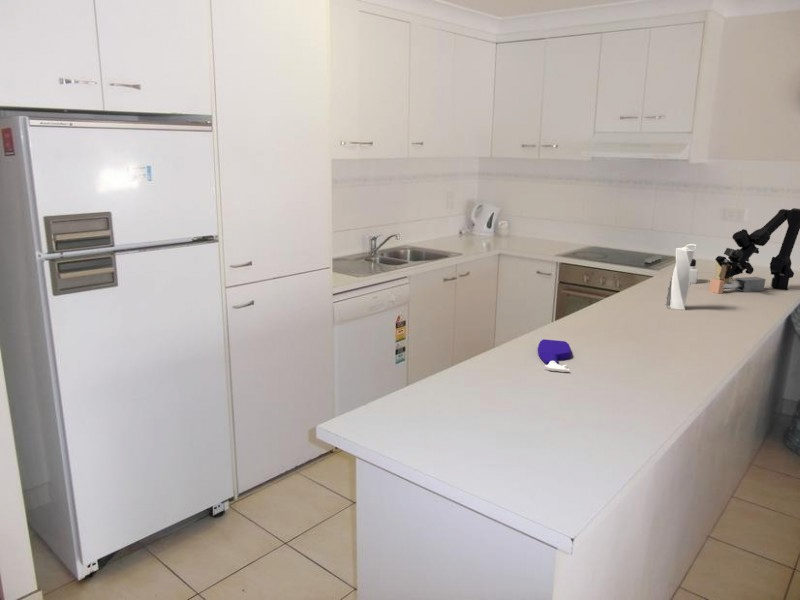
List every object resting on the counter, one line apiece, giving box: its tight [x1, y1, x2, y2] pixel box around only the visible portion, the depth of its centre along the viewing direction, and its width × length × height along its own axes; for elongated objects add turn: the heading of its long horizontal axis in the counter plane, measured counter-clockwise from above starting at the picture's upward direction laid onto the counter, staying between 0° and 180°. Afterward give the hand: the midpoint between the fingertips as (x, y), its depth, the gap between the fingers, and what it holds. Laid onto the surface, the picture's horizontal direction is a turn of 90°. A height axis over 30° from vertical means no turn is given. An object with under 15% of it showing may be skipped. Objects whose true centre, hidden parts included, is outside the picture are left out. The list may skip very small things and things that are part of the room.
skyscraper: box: [665, 243, 698, 311], centre depth 263 cm, size 8×8×28 cm
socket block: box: [708, 278, 725, 295], centre depth 296 cm, size 3×6×6 cm, turn 17°
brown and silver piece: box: [720, 264, 745, 290], centre depth 298 cm, size 18×4×12 cm, turn 107°
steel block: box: [734, 276, 766, 293], centre depth 302 cm, size 12×6×6 cm, turn 107°
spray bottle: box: [537, 339, 573, 373], centre depth 200 cm, size 3×11×24 cm
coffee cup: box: [714, 256, 734, 282], centre depth 320 cm, size 9×9×12 cm
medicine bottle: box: [690, 258, 699, 285], centre depth 317 cm, size 7×7×12 cm
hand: (722, 277), depth 296 cm, fingers closed on brown and silver piece, 3 cm apart
